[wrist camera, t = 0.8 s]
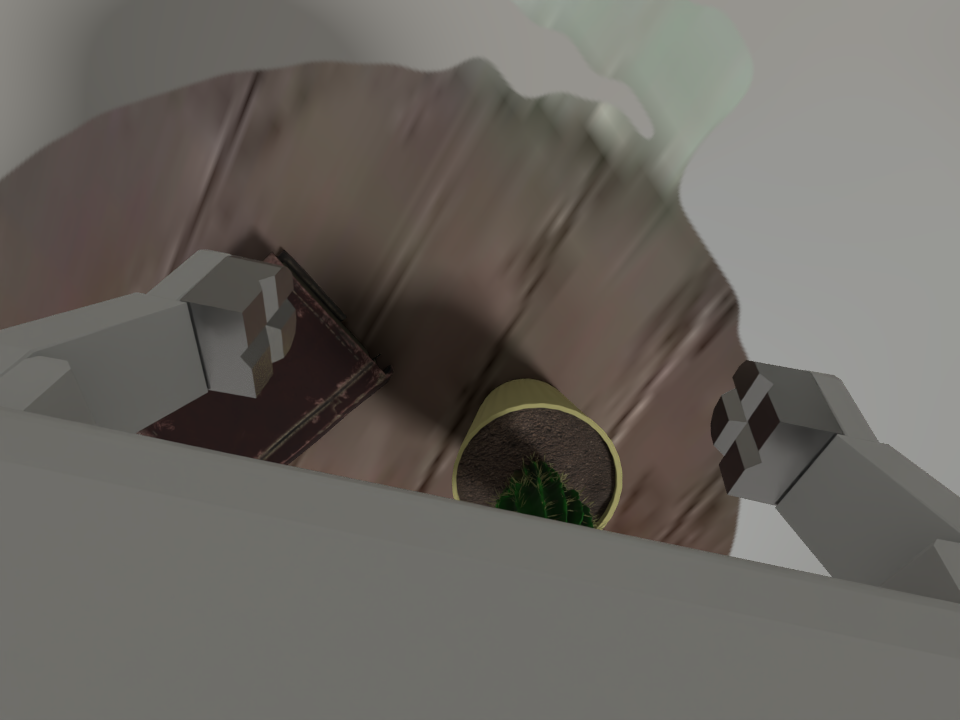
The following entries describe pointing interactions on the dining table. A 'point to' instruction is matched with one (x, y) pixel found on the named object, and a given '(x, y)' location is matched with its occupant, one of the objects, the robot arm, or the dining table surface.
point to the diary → (285, 387)
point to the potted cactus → (538, 457)
